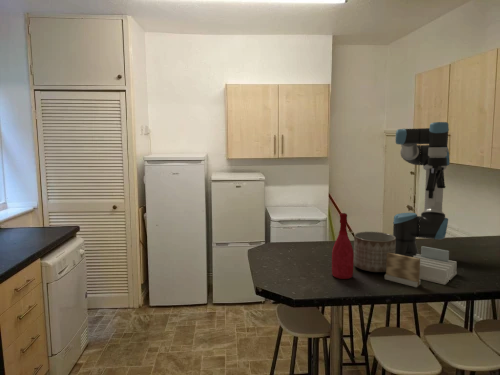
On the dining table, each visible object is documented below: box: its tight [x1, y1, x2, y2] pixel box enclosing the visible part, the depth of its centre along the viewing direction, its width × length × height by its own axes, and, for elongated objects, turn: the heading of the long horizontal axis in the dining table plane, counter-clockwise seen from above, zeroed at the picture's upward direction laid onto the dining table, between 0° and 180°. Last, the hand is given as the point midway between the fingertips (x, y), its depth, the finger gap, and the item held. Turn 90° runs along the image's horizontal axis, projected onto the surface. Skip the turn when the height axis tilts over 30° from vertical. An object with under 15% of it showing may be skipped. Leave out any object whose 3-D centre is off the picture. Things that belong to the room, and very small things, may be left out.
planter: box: [353, 231, 396, 273], centre depth 175 cm, size 19×19×16 cm
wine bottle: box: [331, 212, 354, 280], centre depth 164 cm, size 10×10×30 cm
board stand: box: [384, 273, 421, 288], centre depth 158 cm, size 14×5×2 cm, turn 46°
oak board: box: [385, 252, 420, 287], centre depth 157 cm, size 14×2×12 cm, turn 46°
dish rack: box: [413, 245, 458, 285], centre depth 166 cm, size 18×18×11 cm
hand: (435, 203), depth 161 cm, fingers open, 13 cm apart
